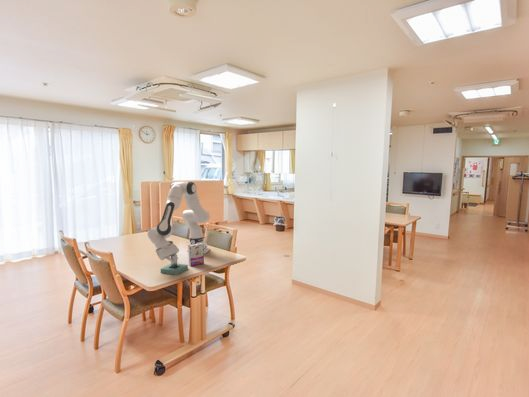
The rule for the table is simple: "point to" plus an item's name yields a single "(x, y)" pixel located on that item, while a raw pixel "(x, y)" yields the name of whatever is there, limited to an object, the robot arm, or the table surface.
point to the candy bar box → (196, 254)
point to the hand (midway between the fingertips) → (174, 260)
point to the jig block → (174, 271)
